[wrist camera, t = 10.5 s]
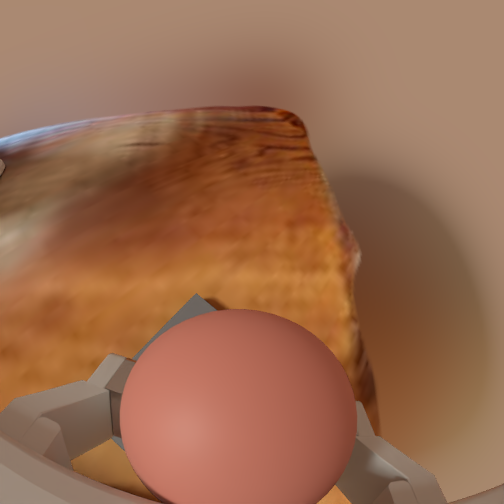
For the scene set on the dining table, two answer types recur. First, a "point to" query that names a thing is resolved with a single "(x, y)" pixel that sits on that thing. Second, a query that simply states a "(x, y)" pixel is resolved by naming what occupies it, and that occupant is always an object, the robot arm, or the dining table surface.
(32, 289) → the dining table surface
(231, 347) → the pink-topped post
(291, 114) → the dining table surface
